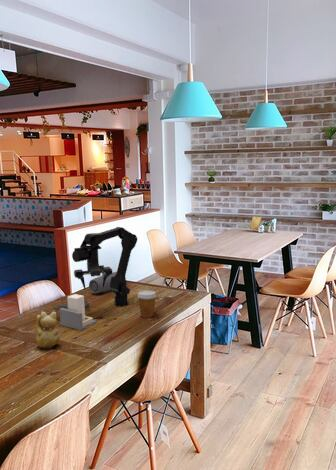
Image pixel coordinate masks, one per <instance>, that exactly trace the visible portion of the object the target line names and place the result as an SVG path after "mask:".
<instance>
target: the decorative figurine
mask: <svg viewBox="0 0 336 470" xmlns="http://www.w3.org/2000/svg"><path fill="white" fill-rule="evenodd" d="M57 322H58V320H57V312H56V311H52V312H50V314H47V312H45V311H41V313H40V314H37V315H36V326H35V327H36V333H37V334H36V337H35V341H36V344H37V345H36V346H38V347H39V349H42V350H43V349H52V348H53V347H54V346H55V345H58V344H59V341H60V338H61V337H60V334H59V333H60V332H59V329H58V328H57V327H56V325H57Z"/></svg>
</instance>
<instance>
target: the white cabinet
mask: <svg viewBox="0 0 336 470" xmlns="http://www.w3.org/2000/svg"><path fill="white" fill-rule="evenodd" d="M84 297H85V296H84V295H81V294H77V293H74V294H71V295H68V296H67V297H66V300H67V303H68V310H72V311H77V312H81V313H82V322H83V321H85V316H86V309H85V305H84Z"/></svg>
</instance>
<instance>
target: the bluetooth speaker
mask: <svg viewBox="0 0 336 470" xmlns="http://www.w3.org/2000/svg"><path fill="white" fill-rule="evenodd" d="M116 273H117V271H114V272H113V271H112V274H110V276H108V277H107V278H106V281H105V284H104V287H102V275H100V276H96V277H95V278H93V279H90V280H89V283H88V288H89V290H90V292H91V293H92V294H99V293H101V294H102V293H104V294H105V293H109V292H110V291H112V289H111V288H110V282H111V277H114V276H115V275H116Z"/></svg>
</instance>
